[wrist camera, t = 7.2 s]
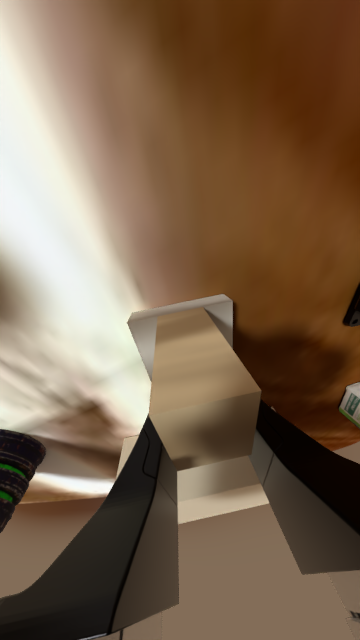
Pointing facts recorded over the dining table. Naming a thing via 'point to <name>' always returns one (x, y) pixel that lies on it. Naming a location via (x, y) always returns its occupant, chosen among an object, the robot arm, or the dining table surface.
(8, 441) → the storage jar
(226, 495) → the cream bridge block
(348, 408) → the syrup box
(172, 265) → the dining table surface
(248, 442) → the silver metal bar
